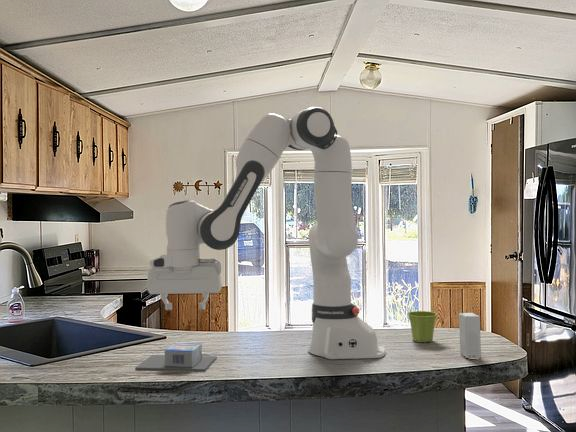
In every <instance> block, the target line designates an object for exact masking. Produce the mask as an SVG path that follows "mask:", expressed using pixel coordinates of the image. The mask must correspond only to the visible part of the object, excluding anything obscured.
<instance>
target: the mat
mask: <svg viewBox="0 0 576 432" xmlns="http://www.w3.org/2000/svg"><path fill="white" fill-rule="evenodd" d="M217 359H218V358H217V356H216V355H214V356H211V355H202V359H201V360H200V361H199V362H198V363H197V364H196V365H195V366H193V367H175V366H165V354H151V355H149V357H147V358H146V359H145V360H143V361H142V362H141V363H139V364H138V365H136V366H135V367H134V368H135V371H169V372H171V371H173V372H174V371H175V372H206V371H207V370H208V369H209V368H210V367H211V366H212V365H213V363H214V362H215V361H216V360H217Z"/></svg>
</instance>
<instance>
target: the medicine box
mask: <svg viewBox="0 0 576 432" xmlns="http://www.w3.org/2000/svg"><path fill="white" fill-rule="evenodd" d="M202 345H203V344H202V343H183V342H182V343H181V342H179V343H178V342H175V343H174V344H171V345H170V346H169V347H167V348H166V349H164V355H165V366H175V367H193V366H195V365H196V364H197V363H198V362H199V361H200V360H201V359H202V356H203V355H202V354H203V353H202V351H203V350H202V349H203V347H202Z"/></svg>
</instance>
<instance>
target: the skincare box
mask: <svg viewBox="0 0 576 432" xmlns="http://www.w3.org/2000/svg"><path fill="white" fill-rule="evenodd" d="M458 325H459V327H458V328H459V330H458V331H459V346H460V347H459V350H460V351H459V352H460V353H461V354H462V355H463V356H462V355H461V354H460V355H461V356H462V357H464V356H465V357H466V358H481V359H482V343H481V316H479V315H478V314H475V313H474V312H459V313H458ZM465 357H464V358H465ZM466 358H465V359H466Z"/></svg>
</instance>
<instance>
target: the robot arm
mask: <svg viewBox="0 0 576 432" xmlns="http://www.w3.org/2000/svg"><path fill="white" fill-rule="evenodd" d="M287 148H290V149H293V150H295V151H296V150H297V151H304V150H309V149H310V151H311V153H312V156H313V159H314V160H313V161H314V168H313V169H314V170H313V171H314V172H313V177H314V178H313V202H314V205H315V212H316V222H315V223H314V224H313V225H312V226H311V228H310V230H309V232H308V242H309V243H308V244H309V255H310V256H309V257H310V263H311V270H312V283H313V284H312V285H313V292H312V295H313V302H312V305H311V323H312V329H311V330H312V332H311V338H310V344H309V347H308V349H307V351H308V352H309V353H310V354H312V355H315V356H319V357H323V358H324V359H328V360H344V359H345V360H348V359H349V360H350V359H379V358H383V357H384V356H385V355H386V348H385V347H384V345H382V344H379V342H378V337H377V333H376V331H375V329H374V328H373V327H371V326H370V325H369V324H368V323H367V322H366V321H365V320H362V319H361V317H359V313H360V309H359V307H358V306H357V305H356V304H353V303H352V294H351V291H352V288H351V287H352V284H351V283H352V282H351V281H352V279H351V273H350V270H349V266H348V260H347V257H348V256H350V255H351V254H352V253H353V252H354V251H355V250H356V249H357V246H358V242H359V241H358V240H359V239H358V234H357V231H356V226H355V217H354V209H353V203H352V176H353V175H352V171H353V170H352V169H353V167H352V156H351V147H350V145H349V141H348V140H347V139H346V137H344V136H341V135H338V131H337V128H336V126H335V122H334V120H333V117H332V115H331V114H330V113H329V112H328V111H327V110H326V109H324V108H323V107H318V106H310V107H308V108H305V109H303V110H299V111H298V112H296V113H295V114H293V115H292V116H290V117H288V118H285V117H283V116H282V115H279V114H276V113H267V114H265V115H263V116H262V118H261V119H259V120H258V122H256V124H255V125H254V126H253V128H252V129H251V130H250V132H249V133H248V135H247V137H246V138H245V139H244V142H243V143H242V144H241V147H240V148H239V150H238V153H237V155H236V159H235V166H236V168H235V169H236V176H235V179H234V181H233V183H232V185H231V186H230V188H229V190H228V192H227V194H226V195H225V197H224V199H223V201H222V202H221V204H220V206H218V207H217V209H215V210H214V209H211V208H208V207H207V206H205V205H201V204H199V202H196V200H194V199H186V200H181V201H177V202H173V203H171V204H169V206H168V207H167V210H166V215H165V235H166V237H167V245H166V254H162V255H160V256H158V257H155V258H152V259H151V260H150V261H149V266H150V269H149V271H148V272H147V278H146V279H147V281H146V287H147V288H146V289H147V292H148V294H150V295H160V300H161V301H162V302H163V304H164V309H165V311H171V310H173V302H170V301H169V300H168V298H167V297H169V294H170V295H171V294H172V295H174V294H176V295H178V294H179V295H180V294H181V295H182V294H201V295H202V296H201V297H202V298H203V300H202V301H201V302H199V303H198V310H199V311H201V310H203V311H204V310H206V307H207V306H206V305H207V301H208V299H209V298H210V294H218V293H219V292H221V290H222V288H223V287H222V286H223V285H222V284H223V283H222V278H221V273H222V264H221V262H220V261H218V260H216V259H215V258H200V256H201V255H200V253H201V252H200V245H201V244H204V245H206V246H207V247H208V248H210V249H213V250H216V251H221V250H226V249H229V248H230V247H231V246H233V245H234V244H235V243H236V242H237V240H238V238H239V234H240V229H241V221H242V219H243V217H244V216H243V215H244V213H245V212H246V210H247V208H248V206H249V204H250V203H251V201H252V199H253V197H254V195H255V194H256V191H258V188H259V187H260V186H261V184H262V183H263V182H264V181H265V180H266V178H267V177H268V176H269V174H270V173H271V172H272V171H273V169H274V168H275V166H276V165H277V163H278V162H279V160H280V158H281V157H282V154H283V153H284V151H285V150H286V149H287Z"/></svg>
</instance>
